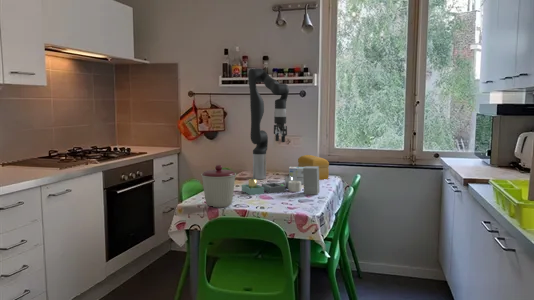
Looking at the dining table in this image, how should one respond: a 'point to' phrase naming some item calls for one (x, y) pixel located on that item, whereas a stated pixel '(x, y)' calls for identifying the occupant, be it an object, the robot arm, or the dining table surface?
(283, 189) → the block
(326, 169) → the bread
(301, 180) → the light bulb box
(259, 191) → the trough
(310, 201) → the dining table surface
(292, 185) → the white cup
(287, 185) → the grey cell
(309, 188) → the skincare box
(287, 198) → the dining table surface
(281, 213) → the dining table surface
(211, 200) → the canister
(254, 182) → the brass cell
